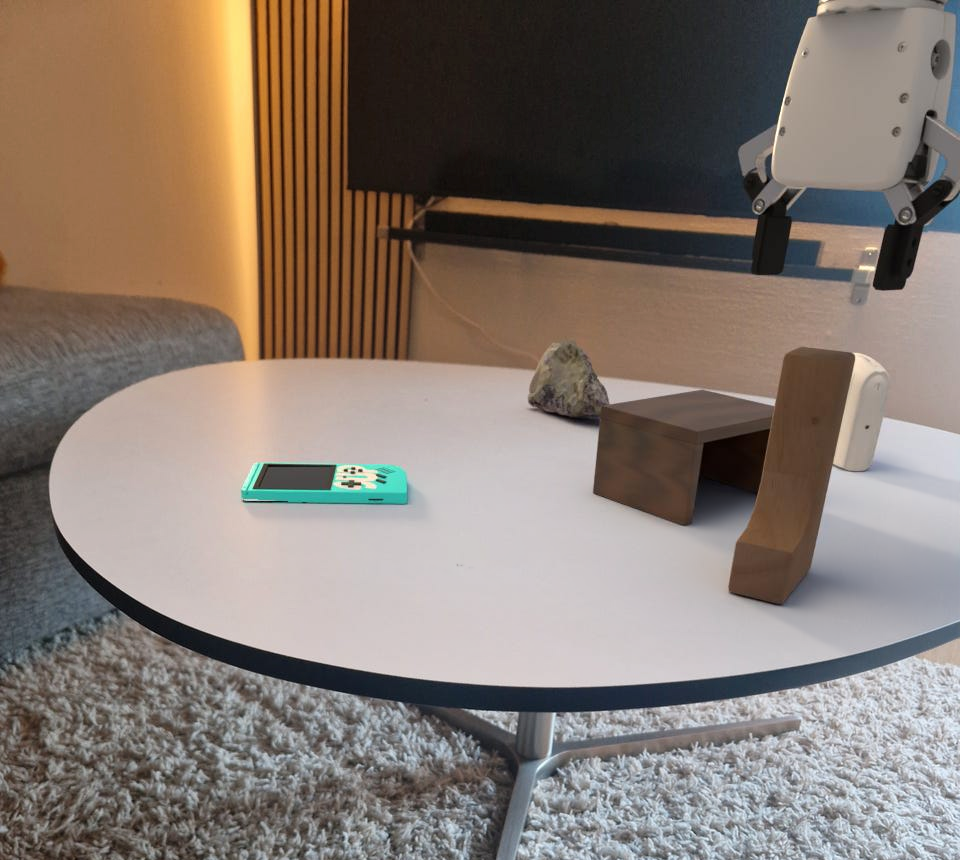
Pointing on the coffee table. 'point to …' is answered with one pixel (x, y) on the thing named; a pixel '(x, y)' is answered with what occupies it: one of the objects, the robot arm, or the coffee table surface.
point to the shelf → (679, 449)
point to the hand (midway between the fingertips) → (824, 281)
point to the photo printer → (862, 414)
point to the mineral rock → (567, 383)
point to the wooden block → (793, 475)
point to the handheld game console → (326, 483)
